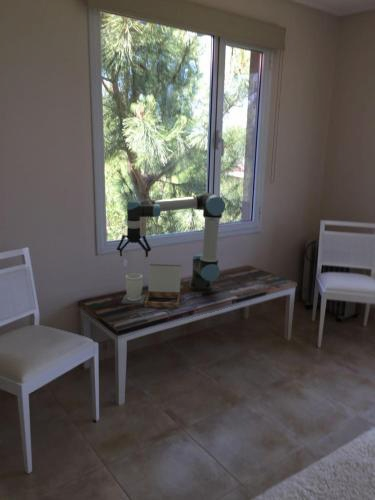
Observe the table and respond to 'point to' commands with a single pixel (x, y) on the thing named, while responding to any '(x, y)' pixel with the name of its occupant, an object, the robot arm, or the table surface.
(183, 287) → the table surface
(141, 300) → the slate tile
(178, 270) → the lid
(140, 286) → the jar
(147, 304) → the cold frame
